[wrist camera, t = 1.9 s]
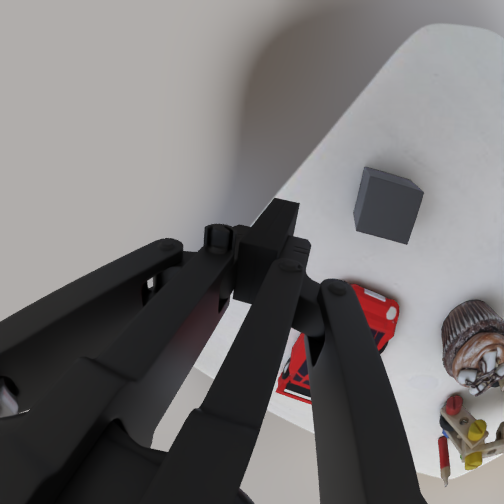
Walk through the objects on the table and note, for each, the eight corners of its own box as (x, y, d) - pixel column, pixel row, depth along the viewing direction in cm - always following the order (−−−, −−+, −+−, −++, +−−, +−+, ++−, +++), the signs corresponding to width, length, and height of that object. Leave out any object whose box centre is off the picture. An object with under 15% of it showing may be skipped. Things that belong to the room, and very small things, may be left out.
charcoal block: (353, 213, 28) (355, 231, 24) (364, 166, 26) (370, 175, 21) (397, 225, 27) (407, 245, 23) (410, 180, 25) (424, 192, 20)
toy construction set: (480, 436, 38) (487, 511, 20) (402, 440, 43) (398, 528, 25) (552, 353, 25) (586, 440, 7) (474, 349, 30) (506, 473, 12)
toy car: (406, 297, 30) (413, 324, 26) (338, 393, 40) (335, 418, 36) (326, 269, 32) (324, 294, 27) (276, 374, 41) (269, 399, 37)
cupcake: (506, 311, 26) (532, 362, 18) (461, 358, 31) (476, 411, 23) (469, 281, 27) (500, 335, 18) (421, 335, 32) (434, 395, 23)
